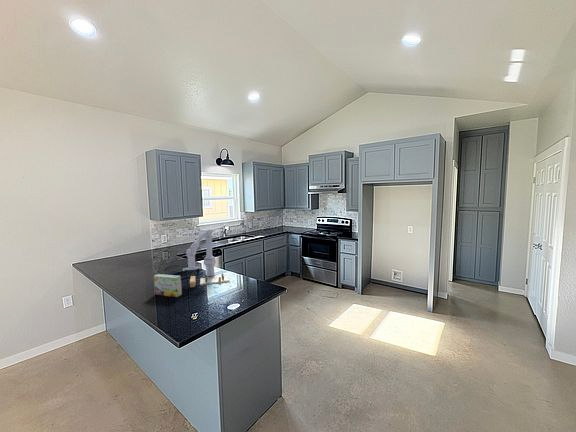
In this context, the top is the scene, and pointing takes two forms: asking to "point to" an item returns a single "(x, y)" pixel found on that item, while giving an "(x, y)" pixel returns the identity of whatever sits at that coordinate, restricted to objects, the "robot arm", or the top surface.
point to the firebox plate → (214, 280)
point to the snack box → (167, 285)
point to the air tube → (192, 281)
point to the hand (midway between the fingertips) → (192, 278)
